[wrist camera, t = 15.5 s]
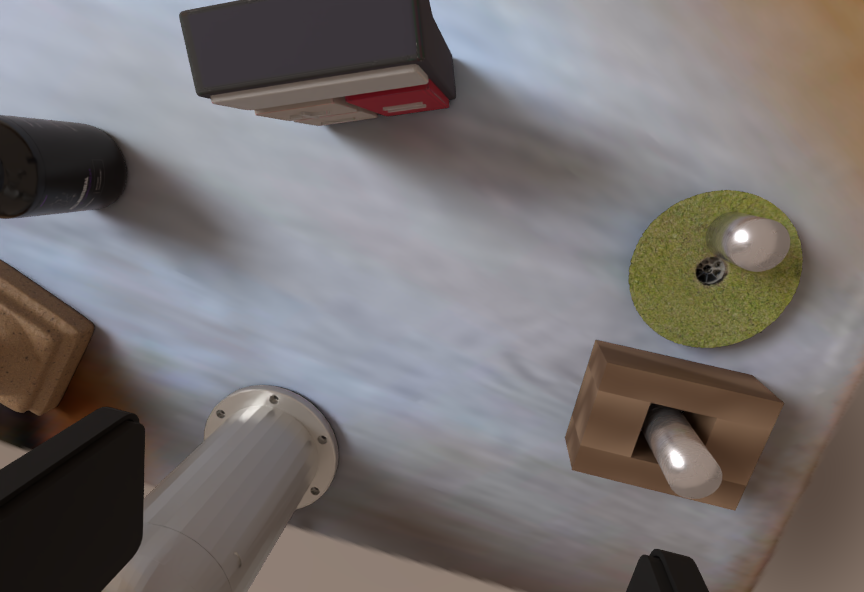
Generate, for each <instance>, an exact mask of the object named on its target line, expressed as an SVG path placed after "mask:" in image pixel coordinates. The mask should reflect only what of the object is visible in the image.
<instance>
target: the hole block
mask: <svg viewBox="0 0 864 592" xmlns="http://www.w3.org/2000/svg"><path fill="white" fill-rule="evenodd" d="M650 403H654V404H659V405H663V406H667V407H671V408H676V409H680V410H684V414H683V415H684V417H685V418H686V419H687V421H688V422H689V424H690V425H691V427H692V428H693V429H694V431H695V432H696V434H697V435H698V437H699V438H700V439H701V441H702V442H703V444H704V445H705V447H706V448H707V449H708V451H709V452H710V454H711V455H712V457H713V458H714V459H715V461H716V462H717V464H718V465H719V467H720V468H721V471H722V481H721V484H720V486H719V487H718V489H717V490H716V491H715V492H714V493H712V494H711V495H709V496H707V497H704V498H700V499H691V500H695V501H699V502H703V503H707V504H711V505H715V506H719V507H723V508H727V509H731V510H736V508H737V506H738V503H739V501H740V499H741V497H742V495H743V492H744V490H745V488H746V486H747V484H748V481H749V479H750V477H751V475H752V473H753V471H754V468H755V466H756V464H757V462H758V460H759V457H760V455H761V453H762V451H763V449H764V446H765V444H766V442H767V440H768V438H769V435H770V433H771V431H772V429H773V427H774V425H775V422H776V420H777V418H778V416H779V414H780V411H781V409H782V407H783V405H784V403H783V402H782V401H781V400H780V399H779V398H778V397H776V396H775V395H774V394H773V393H772V392H771V391H770V390H768V389H767V388H766V387H765V386H764V385H763V384H762V383H760V382H759V381H758V380H757V379H756V378H755V377H754V376H752V375H749V374H745V373H740V372H736V371H731V370H727V369H723V368H718V367H714V366H709V365H705V364H701V363H696V362H692V361H687V360H683V359H679V358H674V357H670V356H665V355H661V354H657V353H652V352H648V351H643V350H639V349H634V348H630V347H626V346H621V345H617V344H612V343H608V342H604V341H599V340H595V343H594V347H593V350H592V353H591V356H590V359H589V362H588V366H587V369H586V372H585V375H584V378H583V382H582V385H581V388H580V391H579V394H578V398H577V401H576V404H575V407H574V410H573V413H572V417H571V420H570V423H569V426H568V429H567V433H566V436H565V440H566V444H567V449H568V453H569V458H570V462H571V467H572V470H574V471H578V472H582V473H586V474H590V475H594V476H598V477H602V478H606V479H610V480H614V481H618V482H622V483H626V484H631V485H635V486H639V487H643V488H647V489H651V490H655V491H659V492H663V493H667V494H671V495H675V496H679V495H678V494H676V493H675V492H674V491H673V490H672V489H671V487H670V485H669V484H668V482H667V480H666V478H665V476H664V474H663V472H662V470H661V468H660V466H659V464H658V462H657V460H656V458H655V456H654V454H653V452H652V450H651V448H650V446H649V444H648V442H647V440H646V438H645V436H644V434H643V432H642V431H640V430H641V428H642V425H643V422H644V420H645V417H646V414H647V411H648V409H649V406H650ZM679 497H682V496H679ZM683 498H684V497H683ZM687 499H688V498H687Z"/></svg>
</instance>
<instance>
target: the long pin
mask: <svg viewBox="0 0 864 592" xmlns="http://www.w3.org/2000/svg"><path fill="white" fill-rule="evenodd" d="M641 430H642V432H643V434H644V436H645V438H646V440H647V442H648V444H649V446H650V448H651V450H652V452H653V454H654V456H655V458H656V460H657V462H658V464H659V466H660V468H661V470H662V472H663V474H664V476H665V478H666V480H667V482H668V484H669V485H670V487H671V489H672V490H673V491H674V492H675V493H676V494H678V495H679V496H682V497H684V498H688V499H700V498H704V497H707V496H709V495H711V494H712V493H714V492H715V491H716V490H717V489H718V487H719V486H720V484H721V481H722V471H721V468H720V467H719V465H718V464H717V462H716V461H715V459H714V458H713V457H712V455H711V454H710V452H709V451H708V449H707V448H706V447H705V445H704V444H703V442H702V441H701V439H700V438H699V437H698V435H697V434H696V432H695V431H694V429H693V428H692V427H691V425H690V424H689V422H688V421H687V419H686V418H685V417H684V415H683V414H682V412H681V411H680V409H676V408H671V407H667V406H663V405H659V404H654V403H650V406H649V409H648V411H647V414H646V417H645V420H644V422H643V425H642V428H641Z"/></svg>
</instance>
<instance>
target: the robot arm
mask: <svg viewBox="0 0 864 592" xmlns="http://www.w3.org/2000/svg"><path fill="white" fill-rule="evenodd" d="M144 454H145V428H144V426H143V425H142V424H140V423H139V418H138V416H137V415H135V414H133V413H130V412H126V411H122V410H118V409H114V408H110V407H102V408H99V409H97V410H96V411H94V412H92V413H91V414H89V415H88V416H86V417H84V418H83V419H81V420H79V421H78V422H76V423H75V424H73V425H71V426H70V427H68V428H67V429H65V430H63V431H62V432H60V433H59V434H57V435H55V436H54V437H52V438H50V439H49V440H47V441H46V442H44V443H42V444H41V445H39V446H38V447H36V448H34V449H33V450H31V451H30V452H28V453H26V454H25V455H23V456H22V457H20V458H19V459H17V460H15V461H14V462H12V463H10V464H9V465H7V466H5V467H4V468H2V469H1V470H0V592H247V591H248V589H249V588H250V586H251V584H252V583H253V581H254V579H255V577H256V576H257V574H258V572H259V571H260V569H261V567H262V565H263V564H264V562H265V561H266V559H267V557H268V555H269V553H270V552H271V550H272V549H273V547H274V545H275V543H276V542H277V540H278V539H279V537H280V535H281V533H282V532H283V530H284V528H285V527H286V525H287V523H288V522H289V520H290V518H291V517H292V515H293V513H294V511H295V510H296V509H301V508H303V507H306V506H308V505H310V504H312V503H313V502H315V501H316V500H318V499H319V498H320V497H321V496H322V495H323V494H324V493H325V492H326V491H327V489H328V487H329V486H330V484H331V482H332V480H333V478H334V476H335V473H336V471H337V466H338V460H339V455H338V445H337V441H336V438H335V435H334V432H333V430H332V428H331V426H330V424H329V423H328V421H327V420H326V419H325V417H324V416H323V414H322V413H321V412H320V411H319V410H318V409H317V408H316V407H315V406H314V405H313V404H312V403H310V402H309V401H307V400H306V399H305V398H303V397H302V396H300V395H298V394H296V393H294V392H292V391H290V390H287V389H283V388H280V387H277V386H269V385H255V386H249V387H245V388H241V389H239V390H237V391H235V392H233V393H231V394H229V395H228V396H227V397H226V398H224V399H223V400H222V401H221V402H220V403H219V404H218V405H217V406H216V407H215V408H214V409H213V410H212V412H211V414H210V416H209V418H208V419H207V423H206V426H205V430H204V442H203V443H202V444H201V445H200V446H199V447H197V448H196V449H195V450H194V451H193V452H192V453H191V454H190V455H189V456H188V457H187V458H186V459H185V460H184V461H183V462H182V463H181V464H180V465H178V466H177V467H176V468H175V469H174V470H173V471H172V472H171V473H170V474H169V475H168V476H167V477H166V478H165V479H164V480H163V481H162V482H161V483H159V484H158V485H157V486H156V487H155V488H154V489H153V490H152V491H151V492H150V493H149V494H148V495H147V496H146V497H145V498H144ZM626 592H709V591H708V589H707V586H706V584H705V582H704V580H703V578H702V576H701V574H700V572H699V570H698V567H697V565H696V564H695V562H694V561H693V559H691V558H690V557H687V556H684V555H680V554H676V553H672V552H668V551H664V550H660V549H654V550H653V551H652V552H651V554H650V556H648V555H642V556H641V557H640V559H639V561H638V563H637V566H636V568H635V571H634V573H633V576H632V578H631V581H630V583H629V586H628V588H627V591H626Z"/></svg>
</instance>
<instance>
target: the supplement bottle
mask: <svg viewBox="0 0 864 592" xmlns="http://www.w3.org/2000/svg"><path fill="white" fill-rule="evenodd" d="M126 178H127V170H126V164H125V160H124V157H123V155H122V153H121V151H120V149H119V147H118V146H117V144H116V143H115V142H114V141H113V140H112V139H111V138H110V137H109V136H108V135H107V134H106V133H105V132H103V131H102V130H100V129H98V128H96V127H94V126H91V125H87V124H82V123H74V122H64V121H55V120H45V119H35V118H25V117H15V116H5V115H0V218H3V219H9V218H22V217H31V216H40V215H50V214H59V213H68V212H77V211H86V210H94V209H100V208H104V207H107V206H109V205H111V204H112V203H114V202H115V201H116V200H117V199H118V198H119V197H120V195H121V194H122V192H123V190H124V187H125V184H126Z"/></svg>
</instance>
